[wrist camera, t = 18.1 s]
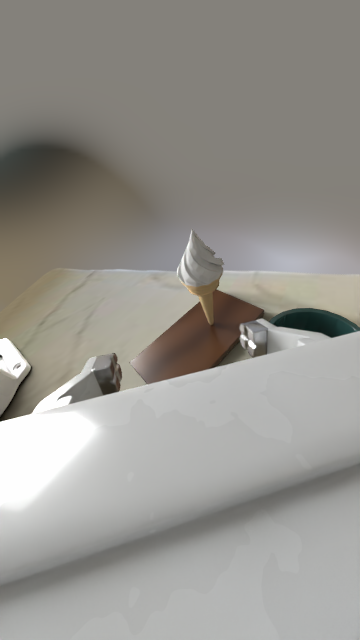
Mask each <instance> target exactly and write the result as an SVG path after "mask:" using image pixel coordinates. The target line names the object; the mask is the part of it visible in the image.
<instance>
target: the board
mask: <svg viewBox="0 0 360 640" xmlns="http://www.w3.org/2000/svg"><path fill="white" fill-rule="evenodd" d="M212 294H213V318H214V322H213V325H210V324H209V322H208V319H207V317H206V315H205V312H204V310H203V307H202V305H201V302H199V303H198V304H196V305H195V306H194V307H193V308H192V309H191V310H189V311H188V312H187V313H186V314H185V315H184V316H183V317H181V318H180V319H179V320H178V321H177V322H176V323H174V324H173V325H172V326H171V327H170V328H169V329H168V330H166V331H165V332H164V333H163V334H162V335H161V336H160V337H158V338H157V339H156V340H155V341H154V342H153V343H151V344H150V345H149V346H148V347H147V348H146V349H145V350H143V351H142V352H141V353H140V354H139V355H138V356H136V357H135V358H134V359H133V360H132V361H131V362H130V364H131V365H132V367H133V368H134V369H135V370H136V371H137V372H138V374H139V375H140V376H141V377H142V378H143V379H144V381H145V382H146V383H147V384H152V383H156V382H160V381H164V380H168V379H172V378H176V377H180V376H183V375H187V374H191V373H195V372H199V371H203V370H207V369H211V368H215V367H216V366H217V365H218V364H219V363H220V362H221V361H222V359H223V358H224V357H225V356H226V355H227V354H228V353H229V352H230V351H231V350H232V349H233V348H234V346H235V345H236V344H237V343H238V342H239V341H240V335H241V332H240V331H239V326H240V324H242V323H246V322H250V321H254V320H258V319H260V318H261V317H262V316H263V315H264V310H263V309H261V308H259V307H256V306H254V305H252V304H249V303H247V302H245V301H242V300H240V299H237V298H235V297H233V296H230V295H228V294H226V293H223V292H221V291H219V290H215V291H213V292H212Z"/></svg>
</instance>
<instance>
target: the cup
mask: <svg viewBox="0 0 360 640" xmlns="http://www.w3.org/2000/svg"><path fill="white" fill-rule="evenodd" d="M269 323H271V324H273V325H274V326H276V327H285V328H291V329H298V330H304V331H311V332H317V333H322V334H324V335H326V336H328V337H330V338H334V337H338V336H342V335H346V334H350V333H354V332H358V331H360V328H359V327H358V326H357V325H356V324H354V323H353V322H351V321H349V320H348V319H346V318H344V317H342V316H340V315H337V314H334V313H331V312H329V311H325V310H319V309H313V308H298V309H292V310H288V311H284V312H282V313H280V314H278V315H276V316H275V317H273V318H272V319H271V320H270V321H269Z"/></svg>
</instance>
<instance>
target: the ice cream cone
mask: <svg viewBox="0 0 360 640" xmlns="http://www.w3.org/2000/svg"><path fill="white" fill-rule="evenodd" d="M214 254H215V252H214V251H212V250H211V249H210V248H209V247H208V246H206V245H205V244H204V242H203V241H202V240H201V239H200V238H199V237H198V236H197V234H196V233H195V232H194V231H193V230H192V231H191V235H190V239H189V243H188V245H187V248H186V250H185V253H184V255H183V258H182V260H181V262H180V265H179V267H178V269H177V274H178V278H179V279H180V281H181V282H182V283H183V285H185V286H186V287H187V288H188V291H189V292H190V293H192V294H194V295H198V297H199V300H200V302H201V305H202V307H203V310H204V312H205V315H206V317H207V319H208V322H209V324H210V325H213V322H214V318H213V294H212V292H213V291H215V290H216V289H217V287H218V286H219V279H220V277H221V276H222V273H223V268H222V266H221V265H223V264H224V263H223V261H222V259H220V258H215V257H214V256H213V255H214Z"/></svg>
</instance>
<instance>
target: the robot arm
mask: <svg viewBox="0 0 360 640" xmlns="http://www.w3.org/2000/svg"><path fill="white" fill-rule="evenodd" d="M239 331H240V332H241V335H240V343H241V345H242V347H243V348H244V349H245V350H248V353H249V354H250V355H251V356H252V357H253V358H251V359H247V360H243V361H239V362H235V363H231V364H227V365H223V366H219V367H215V368H211V369H207V370H203V371H199V372H195V373H191V374H187V375H183V376H180V377H176V378H172V379H168V380H164V381H160V382H156V383H152V384H148V385H144V386H140V387H136V388H132V389H128V390H124V391H120V392H119V390H120V381H121V379H122V372H121V368H120V365H119V364H117V356H116V354H115V353H112V354H107V355H102V356H97V357H93V358H89V359H88V361H87V362H86V364H85V366H84V368H83V370H82V372H81V374H78V375H77V376H75V377H74V378H72V379H71V380H70V381H68V382H67V383H66V384H64V385H63V386H62V387H60V388H59V389H57V390H56V391H55V392H53V393H52V394H51V395H49V396H48V397H46V398H45V399H44V400H42V401H41V402H40V403H39V404H38V405H37V407H36V408H35V410H34V411H33V413H32V414H29V415H25V416H21V417H17V418H13V419H9V420H5V421H1V422H0V640H360V331H358V332H354V333H350V334H346V335H342V336H338V337H334V338H330V337H328V336H326V335H324V334H322V333H317V332H311V331H304V330H298V329H291V328H285V327H276V326H274V325H273V324H271V323H269V322H268V321H266V320H264V319H258V320H254V321H250V322H246V323H242V324H240V326H239ZM30 369H31V366H30V365H29V363H28V362H27V361H26V360H25V358H24V357H23V356H22V354H21V353H20V352H19V351H18V349H17V348H16V347H15V346H14V344H13V343H12V342H11V341H10V340H8V339H6V338H4V339H1V340H0V416H1V414H2V413H3V412H4V410H5V409H6V408H7V406H8V405H9V403H10V401H11V400H12V398H13V396H14V394H15V392H16V390H17V388H18V386H19V384H20V383H21V382H22V380H23V379H24V378H25V377H26V375H27V374H28V373H29V371H30Z"/></svg>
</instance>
